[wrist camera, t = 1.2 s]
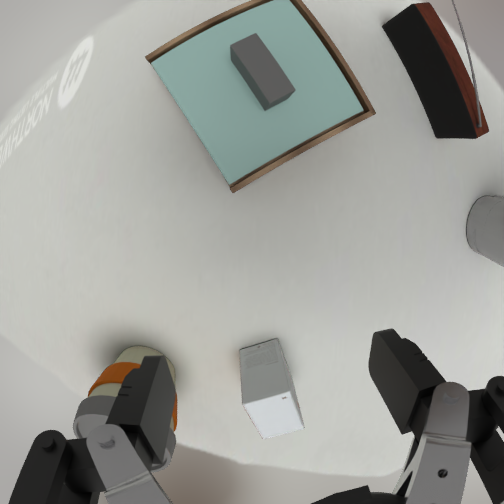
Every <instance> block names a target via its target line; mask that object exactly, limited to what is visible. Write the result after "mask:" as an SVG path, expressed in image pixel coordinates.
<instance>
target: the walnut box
mask: <svg viewBox="0 0 504 504" xmlns="http://www.w3.org/2000/svg"><path fill="white" fill-rule="evenodd" d="M270 1H273V0H251V1H249V2H246V3H244V4H241V5H239V6H237V7H234V8H232V9H230V10H228V11H226V12H223V13H221V14H219V15H217V16H215V17H213V18H211V19H209V20H207V21H205V22H203V23H201V24H199V25H197V26H196V27H194V28H192V29H190V30H188V31H186V32H185V33H183V34H181V35H179V36H178V37H176V38H174V39H172V40H171V41H169V42H168V43H166V44H164V45H163V46H161V47H159V48H158V49H156V50H155V51H153V52H152V53H150V54H149V55H147V56H146V57H145V58H146V59H147V61H148V62H149V63H150V64H151V63H152V62H153V61H155V60H156V59H158V58H159V57H161V56H162V55H164V54H166V53H167V52H169V51H170V50H172V49H174V48H175V47H177V46H179V45H180V44H182V43H184V42H186V41H187V40H189V39H191V38H193V37H195V36H196V35H198V34H200V33H202V32H204V31H206V30H208V29H210V28H212V27H213V26H215V25H217V24H220V23H222V22H224V21H226V20H228V19H230V18H232V17H234V16H237V15H239V14H241V13H243V12H246V11H248V10H250V9H253V8H255V7H258V6H260V5H263V4H265V3H268V2H270ZM290 1H291V3H292V4H293V5H294V6H295V8H296V9H297V10H298V11H299V13H300V14H301V15H302V16H303V18H304V19H305V20H306V22H307V23H308V24H309V26H310V27H311V28H312V30H313V31H314V32H315V34H316V35H317V37H318V38H319V39H320V41H321V42H322V44H323V45H324V47H325V48H326V49H327V51H328V52H329V54H330V55H331V57H332V58H333V60H334V61H335V63H336V64H337V66H338V68H339V69H340V71H341V72H342V74H343V76H344V77H345V79H346V80H347V82H348V84H349V85H350V87H351V89H352V90H353V92H354V94H355V96H356V97H357V99H358V101H359V103H360V104H361V106H362V108H363V111H361V112H359V113H357V114H355V115H353V116H351V117H349V118H347V119H346V120H344V121H342V122H340V123H338V124H336V125H334V126H332V127H330V128H328V129H326V130H324V131H322V132H321V133H319V134H317V135H315V136H313V137H311V138H309V139H308V140H306V141H304V142H302V143H300V144H298V145H297V146H295V147H293V148H291V149H289V150H288V151H286V152H284V153H282V154H281V155H279V156H277V157H275V158H274V159H272V160H270V161H268V162H267V163H265V164H263V165H262V166H260V167H258V168H256V169H255V170H253V171H251V172H250V173H248V174H246V175H245V176H243V177H241V178H240V179H238V180H236V181H235V182H233V183H232V184H230V185H229V184H228V185H229V186H230V190H231V191H232V193H234V192H236V191H238V190H239V189H241V188H243V187H244V186H246V185H247V184H249V183H251V182H252V181H254V180H256V179H258V178H259V177H261V176H263V175H264V174H266V173H268V172H269V171H271V170H273V169H275V168H276V167H278V166H280V165H282V164H283V163H285V162H287V161H289V160H290V159H292V158H294V157H296V156H297V155H299V154H301V153H303V152H304V151H306V150H308V149H310V148H312V147H314V146H315V145H317V144H319V143H321V142H323V141H325V140H326V139H328V138H330V137H332V136H334V135H336V134H338V133H340V132H341V131H343V130H345V129H347V128H349V127H351V126H353V125H355V124H357V123H359V122H361V121H363V120H365V119H367V118H369V117H371V116H373V115H375V114H376V112H375V110H374V109H373V107H372V105H371V103H370V101H369V99H368V98H367V96H366V94H365V92H364V91H363V89H362V87H361V85H360V84H359V82H358V80H357V79H356V77H355V75H354V74H353V72H352V70H351V69H350V67H349V66H348V64H347V63H346V61H345V59H344V58H343V56H342V55H341V53H340V52H339V50H338V49H337V47H336V46H335V44H334V43H333V42H332V40H331V39H330V37H329V36H328V34H327V33H326V32H325V30H324V29H323V28H322V26H321V25H320V24H319V22H318V21H317V20H316V18H315V17H314V16H313V14H312V13H311V12H310V10H309V9H308V8H307V7H306V5H305V4H304V3H303V2H302V1H301V0H290ZM151 65H152V64H151ZM152 67H153V66H152ZM153 68H154V67H153ZM154 70H155V69H154ZM225 180H226V179H225ZM227 183H228V182H227Z"/></svg>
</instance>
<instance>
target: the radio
mask: <svg viewBox="0 0 504 504" xmlns="http://www.w3.org/2000/svg"><path fill="white" fill-rule="evenodd" d="M452 2H453V5H454V8H455V11H456V14H457V17H458V20H459V24H460V28H461V31H462V34H463V38H464V42H465V45H466V49H467V53H468V58H469V62H470V66H471V71H472V78H473V83H474V86H473V84H472V82H471V79H470V77H469V74H468V72H467V70H466V68H465V66H464V63H463V61H462V59H461V57H460V55H459V53H458V51H457V49H456V47H455V45H454V43H453V41H452V39H451V38H450V36H449V34H448V32H447V30H446V28H445V27H444V25H443V23H442V22H441V20H440V18H439V17H438V15H437V13H436V12H435V10H434V8H433V7H432V5H431V4H430V3H428V2H427V3H417V4H411V5H410V6H409V7H407V8H406V9H404V10H403V11H402V12H400V13H399V14H398V15H396V16H395V17H394V18H392V19H391V20H390V21H388V22H387V23H386V24H384V25H383V26H382V27H383V29H384V31H385V33H386V34H387V36H388V38H389V39H390V41H391V43H392V44H393V46H394V48H395V50H396V51H397V53H398V55H399V57H400V59H401V61H402V63H403V64H404V66H405V68H406V70H407V72H408V74H409V76H410V78H411V80H412V82H413V84H414V87H415V89H416V91H417V93H418V95H419V97H420V100H421V102H422V104H423V107H424V109H425V111H426V114H427V116H428V119H429V121H430V124H431V126H432V129H433V132H434V134H435V137H436V138H466V139H476V138H478V137H480V136H482V135H484V134H485V133H487V132H489V129H488V125H487V122H486V119H485V116H484V113H483V110H482V107H481V105H480V102H479V98H478V92H477V86H476V80H475V75H474V71H473V67H472V62H471V58H470V53H469V49H468V45H467V42H466V38H465V35H464V31H463V27H462V24H461V22H460V19H459V16H458V13H457V10H456V7H455V4H454V1H453V0H452Z"/></svg>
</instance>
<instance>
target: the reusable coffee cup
mask: <svg viewBox="0 0 504 504" xmlns="http://www.w3.org/2000/svg"><path fill="white" fill-rule="evenodd" d="M152 355H163V354H161V353H160V352H158V351H156V350H154V349H152V348H148V347H143V346H134V347H130V348H127V349H125V350H124V351H123V352H122V353H121V354H120V356H119V357H118V358H117V360H116V361H115V362H114V364H112V365H110V366H108V367H107V368H106V369H105V370H104V372H103V373H102V374H101V375H100V377H99V378H98V379H97V381H96V382H95V383H94V384H93V386H92V387H91V389H90V390H89V393H88V398H86V399H84V400H83V401H82V402H81V403H80V405H79V407H78V410H77V413H76V417H75V420H74V423H73V430H74V433H75V435H76V437H77V439H81V438H87V437H88V435H89V433H90V432H91V431H92V430H93V429H94V428H96V427H98V426H100V425H104V424H105V423H106V421H107V418H108V416H109V413H110V411H111V409H112V406H113V404H114V401H115V399H116V396H118V392H119V389H120V388H121V385H122V382H123V380H124V378H125V376H126V375H127V374H128V373H129V372H130V371H131V370H132V369H133V368H140V365H141V363H142V360H143V358H144V356H152ZM166 360H167V363H168V366H169V369H170V373H171V376H172V379H173V382H174V385H175V370H174V367H173V365H172V364H171V362H170V361H169V360H168V359H167V358H166ZM176 426H177V394H176V398H175V403H174V408H173V413H172V418H171V423H170V428H169V433H168V438H167V443H166V449H165V454H164V460H163V465H161V464H152V468H151V472H157V471H160V470H163V469H165V468H166V467H167V466H168V465H169V463H170V462H171V458H172V455H173V452H174V449H175V445H176V438H175V434H174V431H175V429H176Z"/></svg>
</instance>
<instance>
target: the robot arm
mask: <svg viewBox="0 0 504 504" xmlns="http://www.w3.org/2000/svg"><path fill="white" fill-rule="evenodd" d="M467 239H468V242H469V245H470V247H471V248H472V249H473V250H474V251H475V252H477V253H479V254H481V255H483V256H485V257H487V258H489V259H490V260H492V261H494V262H496V263H498V264H499V265H501V266H503V267H504V197H501V196H498V195H496V196H494V197H491V196H483V197H481V198H480V199H478V200H477V201H476V203H475V204H474V205H473V207H472V209H471V211H470V214H469V217H468V221H467ZM369 372H370V376H371V378H372V380H373V381H374V383H375V385H376V387H377V389H378V391H379V392H380V394H381V396H382V398H383V400H384V402H385V404H386V405H387V407H388V409H389V411H390V413H391V415H392V417H393V419H394V420H395V422H396V424H397V426H398V428H399V430H400V432H401V434H405V433H408V432H411V431H412V432H413V434H414V435H415V436H414V438H413V440H412V443H411V446H410V450H409V453H408V456H407V459H406V462H405V465H404V467H403V471H402V473H401V476H400V478H399V480H398V482H397V484H396V486H395V488H394V490H393V492H392V494H391V493H382V492H370V490H369V487H368V485H367V486H363V487H359V488H356V489H352V490H348V491H344V492H340V493H335V494H333V495H330V496H328V497H326V498H324V499H321V500H319V501H316V502H314V503H311V504H460V503H461V499H462V495H463V491H464V486H465V481H466V476H467V471H468V465H469V459H470V458H471V460H472V462H473V464H474V466H475V468H476V470H477V471H478V473H479V475H480V478H481V479H482V481H483V483H484V485H485V488H486V490H487V492H488V494H489V496H490V498H491V500H492V503H493V504H504V442H503V440H502V438H501V437H500V435H499V434H498V432H497V431H496V429H497V428H498V426H499V427H500V429H501V430H502V432H503V433H504V376H496V377H493V378H491V379H490V380H489V382H488V384H487V386H486V388H485V389H480V390H472V391H467V389H466V388H465V387H464V386H462V385H461V384H458V383H455V382H446V381H445V379H444V378H443V377H442V376H441V374H440V373H439V372H438V371H437V369H436V368H435V367H434V366H433V364H432V363H431V362H430V361H429V360H427V357H426V356H425V355H424V353H423V354H422V351H421V350H420V349H419V347H418V346H417V345H416V344H415V343H413V342H411V341H410V340H408V339H406V338H403V339H401V337H400V336H399V335H398V334H397V332H396V331H395V330H394V329H387V330H383V331H378V332H375V333H374V334H373V338H372V345H371V351H370V358H369ZM175 398H176V391H175V385H174V382H173V379H172V376H171V373H170V369H169V366H168V363H167V360H166V357H165V356H164V355H152V356H144V358H143V360H142V363H141V365H140V368H133V369H132V370H131V371H130V372H129V373H128V374H127V375H126V376H125V378H124V380H123V382H122V385H121V388H120V389H119V392H118V396H116V399H115V401H114V404H113V406H112V409H111V411H110V413H109V416H108V418H107V421H106V423H105V424H104V425H100V426H98V427H96V428H94V429H93V430H92V431H91V432H90V433H89V435H88V437H87V438H81V439H72V440H66V438H65V437H64V436H63V435H62V433H60V432H59V431H56V430H48V431H44V432H42V433H41V434H39V435H38V436H37V437H36V438H35V440H34V442H33V444H32V446H31V449H30V451H29V453H28V455H27V458H26V460H25V462H24V465H23V467H22V469H21V472H20V474H19V477H18V479H17V482H16V484H15V488H14V490H13V492H12V495H11V498H10V501H9V504H98V499H99V495H100V492H103V491H106V492H105V497H106V499H107V501H108V503H109V504H173V503H172V501H171V500H170V499H169V497H168V496H167V495H166V493H165V492H164V491H163V489H162V488H161V486H160V485H159V484H158V482H157V481H156V479H155V478H154V476H153V475H152V473H151V468H152V464H161V465H163V460H164V454H165V449H166V443H167V438H168V433H169V428H170V423H171V418H172V413H173V408H174V403H175Z"/></svg>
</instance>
